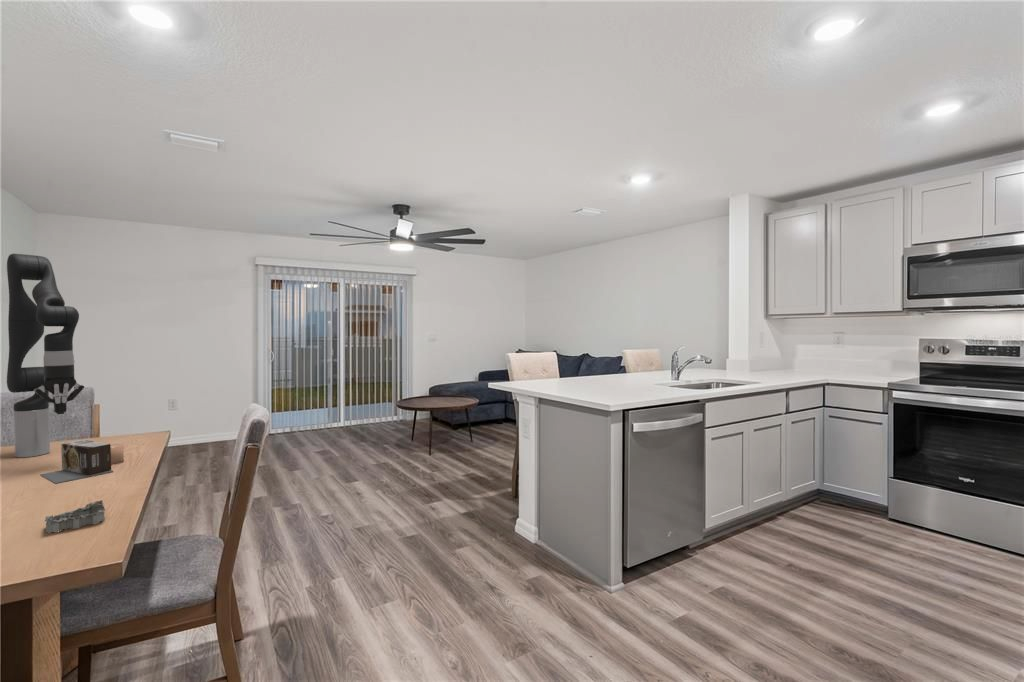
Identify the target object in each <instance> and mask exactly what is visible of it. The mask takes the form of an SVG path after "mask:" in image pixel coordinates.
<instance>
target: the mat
mask: <svg viewBox="0 0 1024 682" xmlns="http://www.w3.org/2000/svg"><path fill="white" fill-rule="evenodd" d="M110 473H114V470H112V469H111V470H109V471H105V472H100V473H96V474H92V475H87V474H81V473H76V472H71V471H66V470H62V469H61V470H57V471H51V472H45V473H41V474H40V476H41V477H42V478H44V479H46V480H48V481H50V482H51V483H53V484H55V485H58V484H62V483H66V482H71V481H72V482H73V481H77V480H81V479H86V478H91V477H94V476H95V477H96V476H101V475H105V474H110Z"/></svg>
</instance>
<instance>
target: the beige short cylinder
mask: <svg viewBox="0 0 1024 682" xmlns="http://www.w3.org/2000/svg"><path fill="white" fill-rule="evenodd" d="M110 447H111V466H112V465H113V464H114V465H117V464H118V465H119V464H122V463H123V462H125V460H124V459H125V456H124V455H125V453H124V451H125V448H124V447H125V445H124V443H112V444H111V443H110Z"/></svg>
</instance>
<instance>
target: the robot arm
mask: <svg viewBox="0 0 1024 682" xmlns="http://www.w3.org/2000/svg"><path fill="white" fill-rule="evenodd" d="M6 260H7V261H6V272H7V273H6V275H7V283H8V298H9V299H8V320H7V322H8V323H7V325H8V326H7V327H8V329H7V330H8V332H7V333H8V361H7V371H6V387H7V389H8V391H9V392H10V393H16V394H17V393H18V394H19V393H28V392H34V394H33V395H31V396H29V397H28V398H26V399H23V400H21V401H17V402H15V403H14V404H13V426H14V430H13V431H14V457H15V458H30V457H36V456H42V455H46V454H50V452H51V442H50V441H51V439H50V437H51V436H50V434H51V433H50V409H49V408H50V407H49V406H50V403H51V404H53V412H54V414H56V415H64V414H65V413H66V411H67V403H68V402H71V401H73V400H74V399H75V398H76V397H78V395H79V394H80V393H81V392H82V391H83V390H84V389H85V386H84V385H82V384H79V383H77V380H76V378H75V355H74V345H73V341H74V334H75V331H76V327H77V325H78V322H79V320H80V313H79V311H78V310H77V308H75V307H74V306H69V305H67V306H65V305H66V304H65V300H64V298H63V296H62V295H61V292H60V291H59V289H58V286H57V281H56V276H55V273H54V269H53V266H52V263H51V260H49V258H48V257H45V256H42V255H33V254H23V253H11V254H9V255H8V257H7V259H6ZM23 280H25V281H39V282H38V283H37V284H36V285H35V286H33V289H32V291H31V294H32V295H31V296H32V299H33V300H34V301H33V300H32V299H31V298H30V296H29V294H28V293H27V292H26V290H25V288H24V285H23ZM45 327H62V329H61V331H59V332H54V333H48V334H45V335H44V333H45ZM42 336H44V338H43V344H44V346H43V349H44V351H43V352H44V353H43V360H42V361H43V366H29V367H22V366H23V362H24V360H25V358H26V356H27V355H28V353H29V352H30V351H31V349H32V348H33V347H34V346H35V345H36V344H37V343H38V342H39V341H40V339H42ZM72 389H73V391H72V392H71V393H70V394H69V392H70V391H71V390H72ZM49 394H51V397H52V398H51V397H50V395H49ZM68 394H69V395H68Z"/></svg>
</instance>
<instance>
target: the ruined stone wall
mask: <svg viewBox="0 0 1024 682" xmlns="http://www.w3.org/2000/svg"><path fill="white" fill-rule="evenodd" d="M105 513H106V508H105V506H104V502H103V500H98V501H97V500H96V501H94V502H90V503H87V504H86V505H85V506H84V507H77V509H74V510H71V511H65V512H63V513H60V514H57V515H49V516H48V515H47V516H45V519H44V522H45V533H46V534H48V533H47V532H58V531H60V530H62V531H64V530H63V529H65V530H68V529H67V528H70V529H72V528H73V530H75V529H74V528H76V529H79V528H80V527H83V526H87V525H93V524H94V525H97V524H96V523H98V524H100V523H101V522H100V521H102V522H104V521H105ZM60 532H61V531H60ZM58 533H59V532H58Z"/></svg>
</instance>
